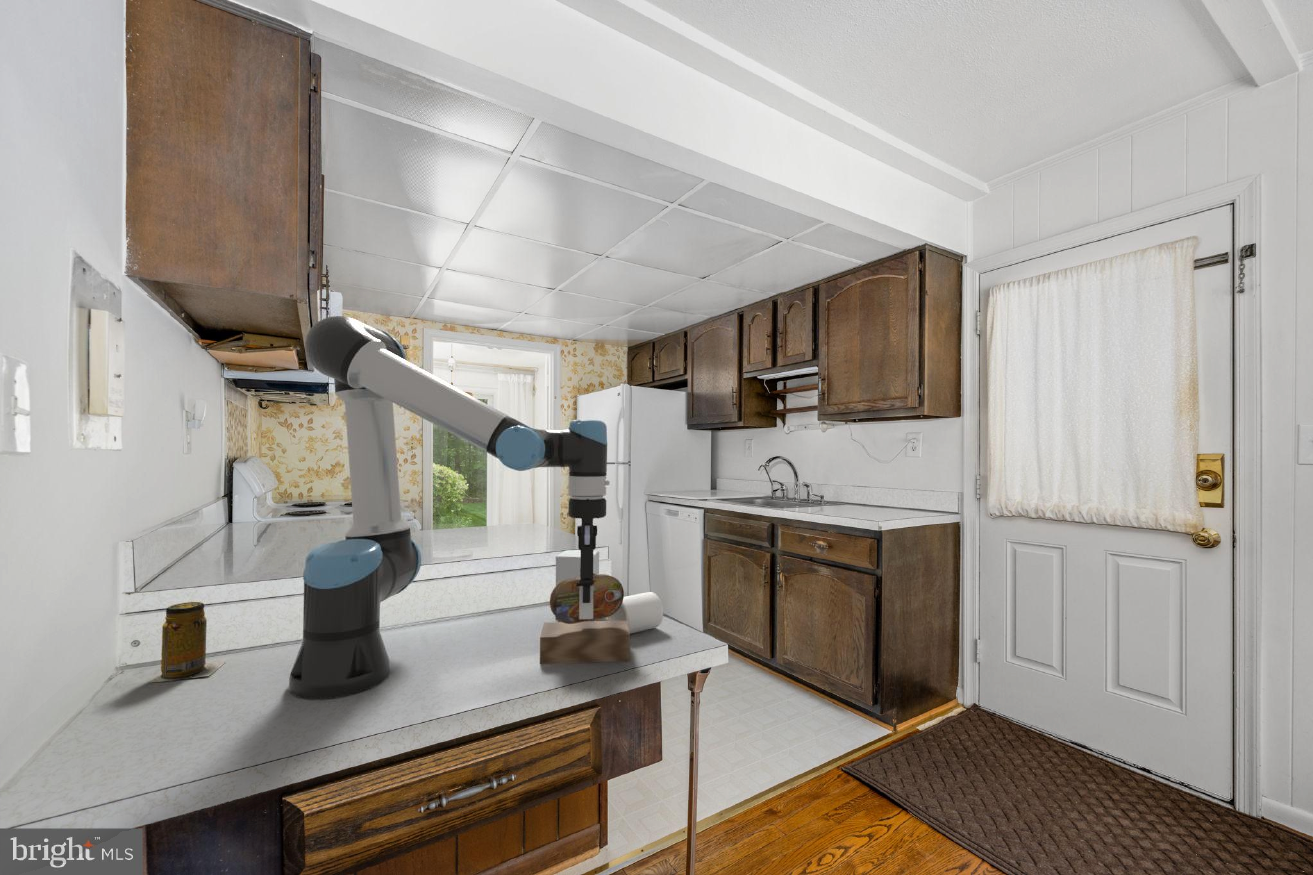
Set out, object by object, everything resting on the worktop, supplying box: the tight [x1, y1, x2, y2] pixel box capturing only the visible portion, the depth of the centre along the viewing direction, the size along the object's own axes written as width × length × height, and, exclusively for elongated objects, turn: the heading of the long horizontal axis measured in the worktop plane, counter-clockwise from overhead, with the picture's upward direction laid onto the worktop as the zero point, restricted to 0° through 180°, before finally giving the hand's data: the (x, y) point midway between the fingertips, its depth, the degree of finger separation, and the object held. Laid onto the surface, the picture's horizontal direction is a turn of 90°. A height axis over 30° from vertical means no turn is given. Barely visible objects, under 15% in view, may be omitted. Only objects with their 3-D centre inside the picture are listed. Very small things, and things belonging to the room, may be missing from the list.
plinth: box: [539, 620, 631, 665], centre depth 111 cm, size 17×9×5 cm, turn 97°
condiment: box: [149, 601, 226, 683], centre depth 99 cm, size 7×8×12 cm
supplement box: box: [554, 549, 600, 619], centre depth 137 cm, size 9×9×15 cm
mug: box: [607, 591, 664, 635], centre depth 127 cm, size 12×10×8 cm
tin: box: [549, 573, 625, 624], centre depth 111 cm, size 15×3×8 cm, turn 118°
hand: (586, 614), depth 111 cm, fingers closed on tin, 4 cm apart
